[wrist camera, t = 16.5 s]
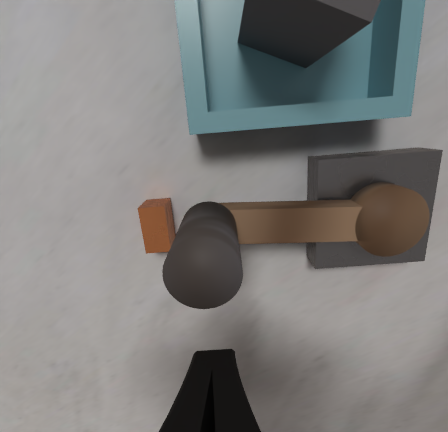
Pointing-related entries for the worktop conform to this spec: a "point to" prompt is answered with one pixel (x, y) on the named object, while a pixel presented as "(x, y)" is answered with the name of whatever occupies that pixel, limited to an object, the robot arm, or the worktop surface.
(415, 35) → the tray
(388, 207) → the crank lever
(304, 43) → the block
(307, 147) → the worktop surface
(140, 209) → the wooden and grey pieces
